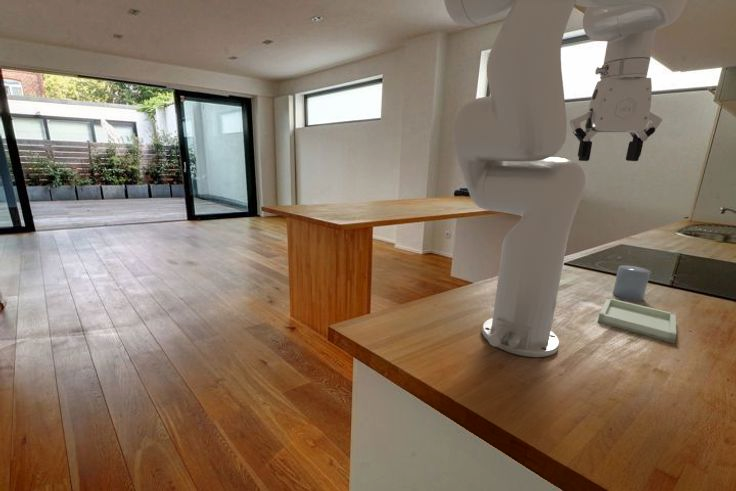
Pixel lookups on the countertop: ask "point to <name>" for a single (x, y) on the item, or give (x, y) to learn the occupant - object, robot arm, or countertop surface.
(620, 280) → the blue grey cylinder
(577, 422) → the countertop surface
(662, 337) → the tray
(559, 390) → the countertop surface
